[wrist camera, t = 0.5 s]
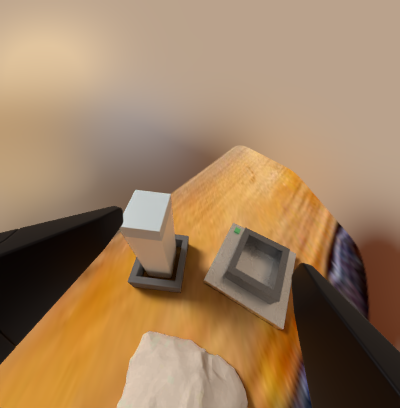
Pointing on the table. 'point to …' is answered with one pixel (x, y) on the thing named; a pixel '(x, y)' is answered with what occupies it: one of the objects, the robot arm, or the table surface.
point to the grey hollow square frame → (161, 284)
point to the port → (254, 274)
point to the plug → (151, 231)
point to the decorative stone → (179, 377)
